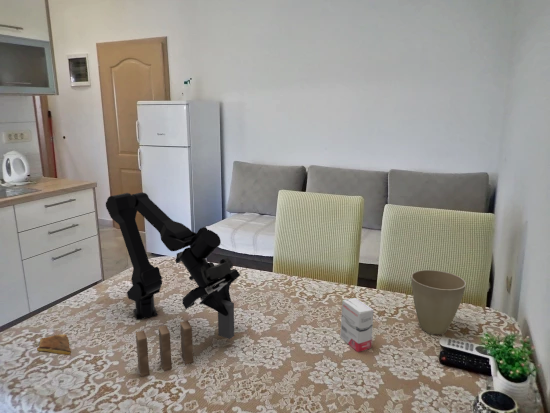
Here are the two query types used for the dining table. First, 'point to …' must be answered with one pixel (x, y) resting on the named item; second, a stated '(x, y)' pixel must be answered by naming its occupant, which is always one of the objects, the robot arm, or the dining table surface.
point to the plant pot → (436, 298)
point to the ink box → (356, 324)
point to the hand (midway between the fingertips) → (229, 313)
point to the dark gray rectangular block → (226, 321)
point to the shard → (55, 344)
